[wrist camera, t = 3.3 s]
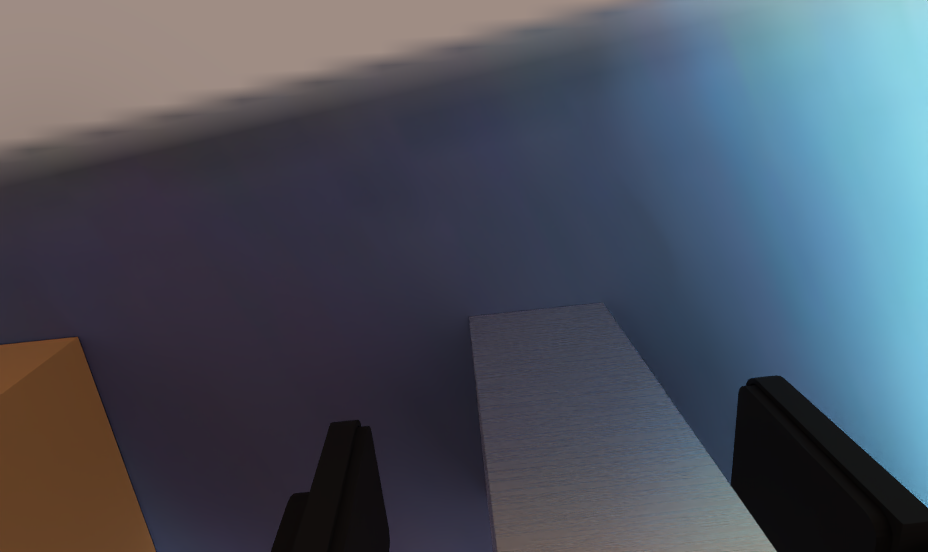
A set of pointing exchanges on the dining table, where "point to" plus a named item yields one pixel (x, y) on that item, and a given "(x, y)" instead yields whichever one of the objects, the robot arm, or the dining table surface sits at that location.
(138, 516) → the bracket head
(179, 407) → the dining table surface
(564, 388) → the white block
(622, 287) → the dining table surface
